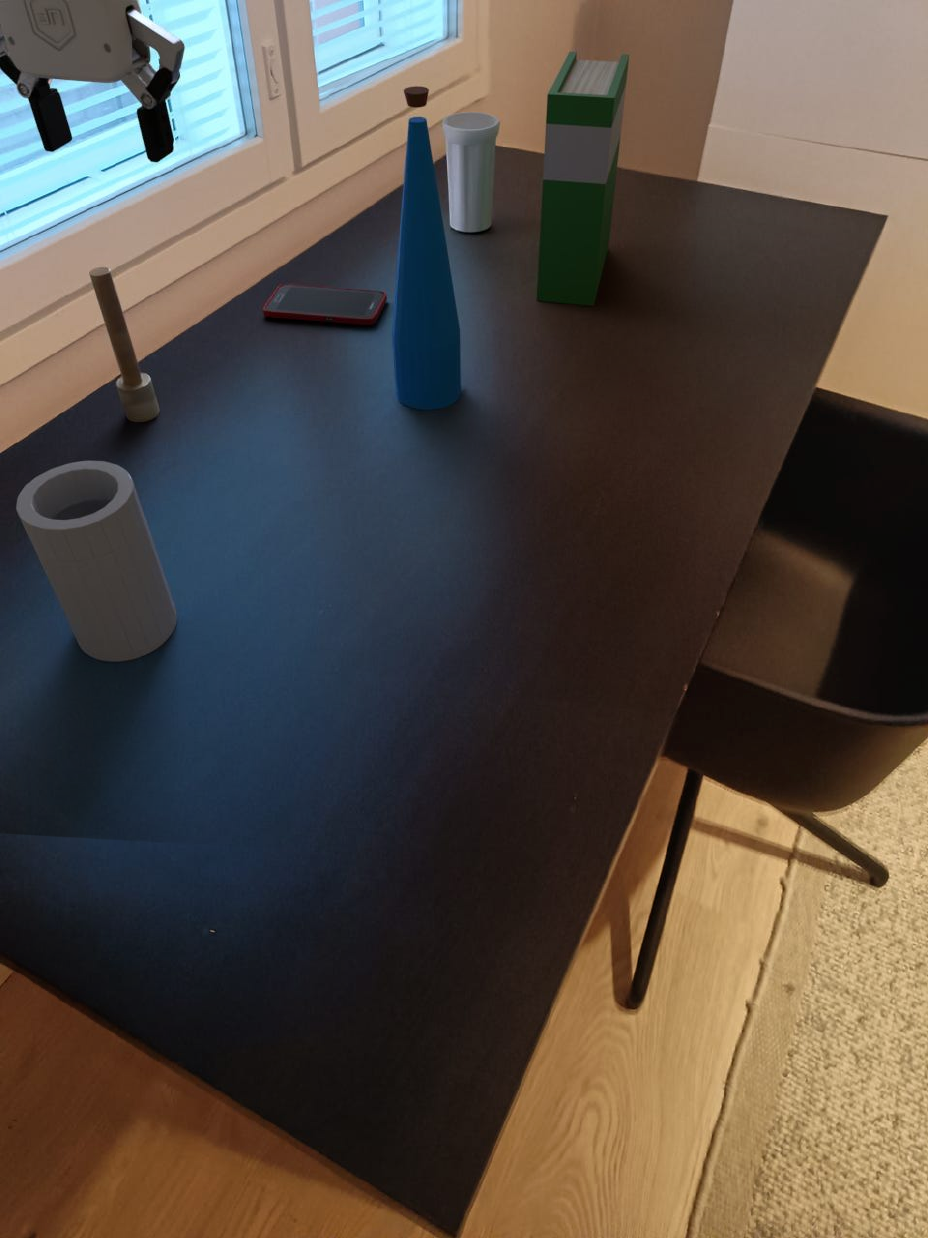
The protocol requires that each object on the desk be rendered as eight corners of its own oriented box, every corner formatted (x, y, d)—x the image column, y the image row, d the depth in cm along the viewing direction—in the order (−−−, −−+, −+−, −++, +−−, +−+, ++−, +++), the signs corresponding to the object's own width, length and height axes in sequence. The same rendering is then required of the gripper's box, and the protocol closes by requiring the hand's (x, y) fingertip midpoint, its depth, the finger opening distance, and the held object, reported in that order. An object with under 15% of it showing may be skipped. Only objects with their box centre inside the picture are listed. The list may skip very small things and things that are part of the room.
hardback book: (556, 244, 128) (569, 51, 111) (608, 248, 127) (629, 54, 110) (536, 300, 116) (547, 93, 99) (593, 305, 115) (614, 97, 98)
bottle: (384, 387, 102) (360, 87, 80) (438, 368, 105) (430, 73, 83) (418, 417, 98) (403, 109, 76) (473, 396, 100) (474, 93, 78)
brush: (121, 421, 97) (74, 278, 86) (132, 403, 100) (88, 262, 88) (153, 422, 97) (111, 279, 86) (163, 404, 100) (123, 263, 88)
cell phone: (280, 290, 118) (279, 283, 118) (388, 298, 117) (388, 291, 116) (261, 317, 113) (260, 310, 112) (374, 327, 111) (373, 319, 111)
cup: (487, 240, 129) (488, 133, 119) (435, 232, 131) (432, 126, 121) (505, 219, 135) (508, 114, 124) (455, 212, 137) (453, 108, 126)
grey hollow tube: (62, 659, 73) (-4, 527, 63) (97, 590, 79) (42, 458, 69) (160, 664, 73) (110, 531, 63) (188, 594, 78) (147, 462, 68)
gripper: (-101, -107, 62) (-7, 157, 74) (120, -98, 59) (181, 177, 71) (-31, -121, 67) (46, 128, 79) (176, -114, 64) (224, 145, 76)
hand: (110, 151), depth 75 cm, fingers open, 9 cm apart
